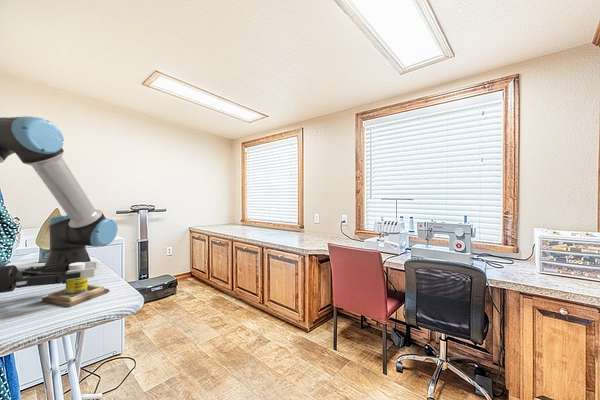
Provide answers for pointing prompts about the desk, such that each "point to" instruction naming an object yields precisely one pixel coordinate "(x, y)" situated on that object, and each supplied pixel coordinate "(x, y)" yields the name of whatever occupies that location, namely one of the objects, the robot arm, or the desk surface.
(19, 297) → the desk surface
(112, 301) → the desk surface
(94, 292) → the walnut board
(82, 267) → the supplement bottle
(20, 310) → the desk surface
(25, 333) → the desk surface
